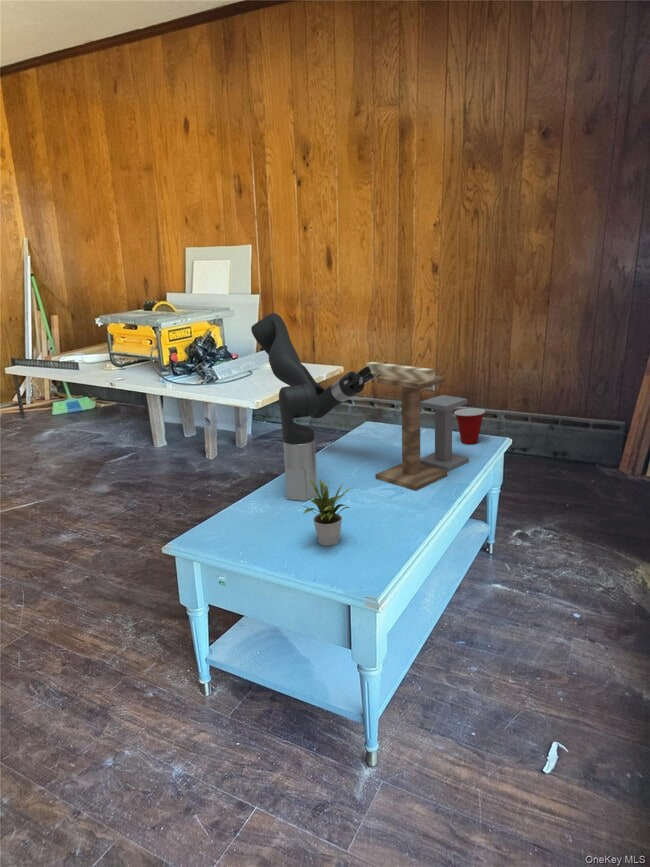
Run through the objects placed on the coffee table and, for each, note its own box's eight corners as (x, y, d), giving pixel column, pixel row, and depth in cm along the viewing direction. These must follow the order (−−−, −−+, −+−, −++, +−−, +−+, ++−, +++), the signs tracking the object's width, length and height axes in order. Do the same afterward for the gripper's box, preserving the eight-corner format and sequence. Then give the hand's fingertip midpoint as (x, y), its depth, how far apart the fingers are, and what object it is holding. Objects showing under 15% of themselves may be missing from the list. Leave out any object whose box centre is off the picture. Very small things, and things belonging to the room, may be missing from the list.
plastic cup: (466, 436, 227) (466, 405, 223) (490, 441, 219) (491, 410, 215) (447, 442, 220) (448, 411, 217) (471, 448, 212) (472, 416, 209)
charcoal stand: (468, 462, 199) (470, 399, 193) (447, 471, 191) (448, 406, 185) (439, 454, 208) (439, 394, 201) (417, 463, 200) (417, 401, 194)
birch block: (434, 379, 175) (434, 369, 174) (427, 381, 173) (427, 370, 172) (372, 371, 192) (372, 361, 191) (366, 372, 190) (366, 363, 189)
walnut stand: (447, 475, 188) (448, 375, 179) (415, 490, 178) (415, 385, 168) (407, 465, 199) (406, 370, 190) (375, 478, 189) (372, 379, 180)
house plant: (284, 541, 150) (279, 480, 145) (323, 523, 159) (320, 465, 155) (323, 559, 140) (320, 495, 136) (363, 539, 149) (361, 478, 145)
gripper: (327, 380, 195) (358, 359, 183) (357, 373, 205) (388, 352, 193) (336, 401, 195) (368, 381, 183) (366, 393, 204) (397, 373, 192)
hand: (378, 366), depth 188 cm, fingers open, 8 cm apart
